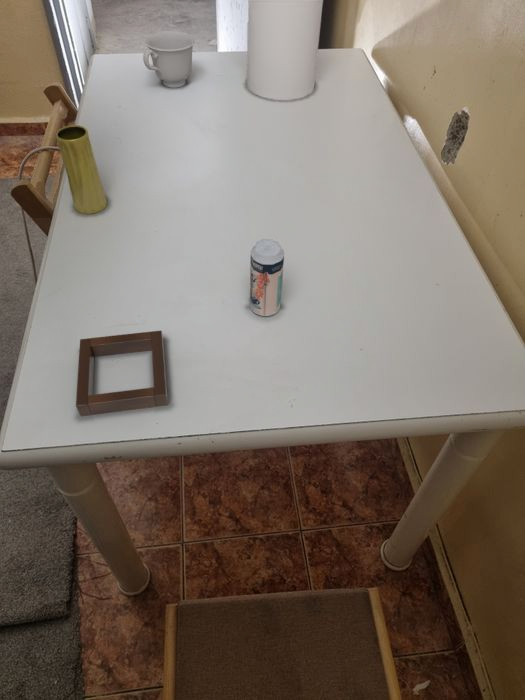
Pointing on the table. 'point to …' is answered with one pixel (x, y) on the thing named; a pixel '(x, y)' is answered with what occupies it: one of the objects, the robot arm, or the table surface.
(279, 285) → the beer can
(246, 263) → the table surface
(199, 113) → the table surface
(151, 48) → the teacup
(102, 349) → the brown wooden square frame
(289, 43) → the cylinder
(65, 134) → the vase
